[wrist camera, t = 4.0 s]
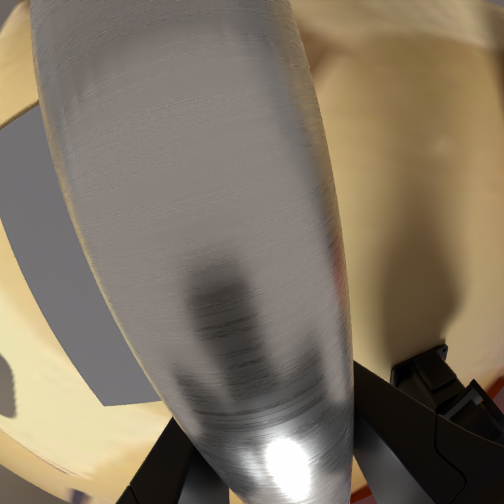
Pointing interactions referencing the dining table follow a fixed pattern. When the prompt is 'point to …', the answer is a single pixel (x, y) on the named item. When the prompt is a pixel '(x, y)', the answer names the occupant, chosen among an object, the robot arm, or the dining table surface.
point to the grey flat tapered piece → (62, 266)
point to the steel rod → (210, 225)
